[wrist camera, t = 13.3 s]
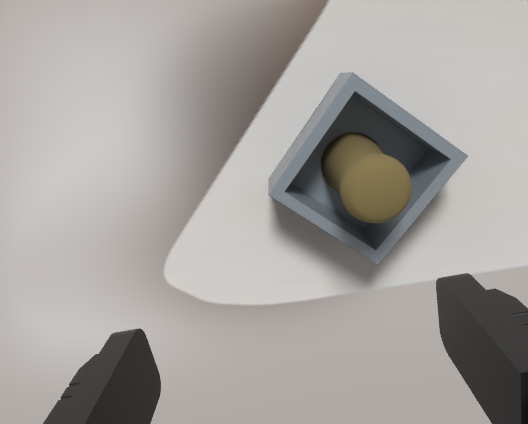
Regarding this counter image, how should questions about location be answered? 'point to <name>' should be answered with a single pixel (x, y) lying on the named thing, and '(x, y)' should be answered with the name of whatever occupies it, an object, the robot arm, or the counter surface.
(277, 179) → the crate
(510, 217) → the counter surface
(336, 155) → the cork
